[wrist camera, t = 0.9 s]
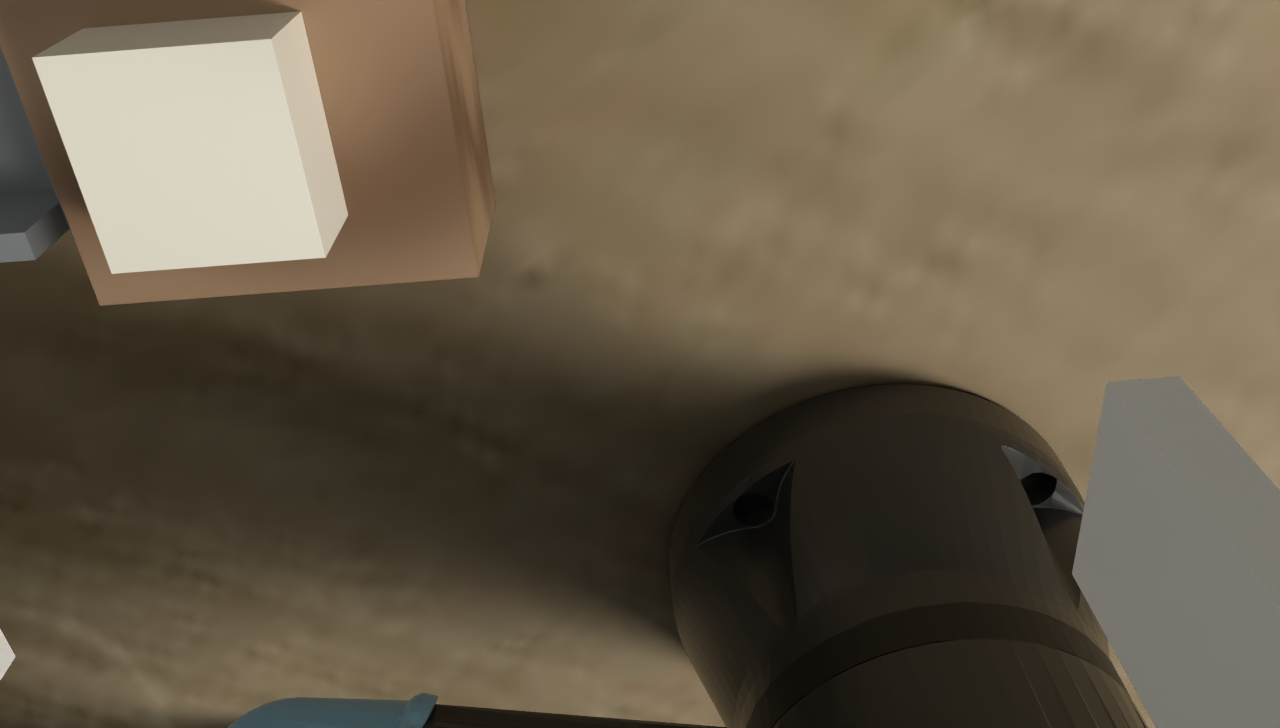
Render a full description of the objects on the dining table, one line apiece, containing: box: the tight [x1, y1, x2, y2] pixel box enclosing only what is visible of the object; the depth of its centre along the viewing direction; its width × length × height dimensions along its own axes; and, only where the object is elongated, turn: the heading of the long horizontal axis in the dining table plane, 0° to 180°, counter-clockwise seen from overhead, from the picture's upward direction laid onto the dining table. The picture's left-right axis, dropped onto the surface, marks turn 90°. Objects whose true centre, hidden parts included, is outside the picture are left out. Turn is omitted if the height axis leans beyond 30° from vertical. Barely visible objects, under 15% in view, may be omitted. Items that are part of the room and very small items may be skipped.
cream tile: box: [32, 11, 348, 274], centre depth 24 cm, size 5×5×2 cm
